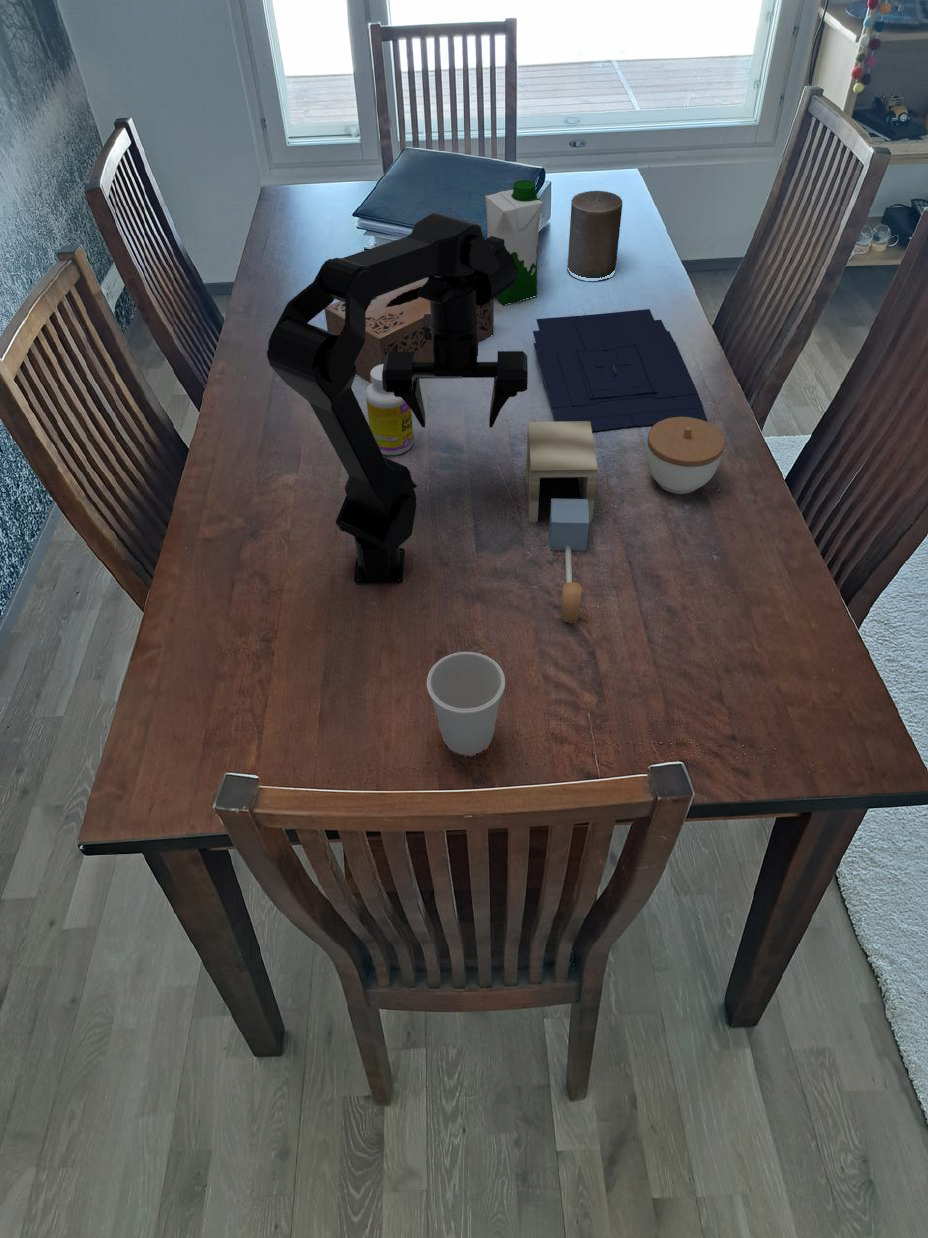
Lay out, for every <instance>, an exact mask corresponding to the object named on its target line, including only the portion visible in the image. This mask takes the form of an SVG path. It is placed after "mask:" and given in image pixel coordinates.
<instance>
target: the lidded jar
mask: <svg viewBox="0 0 928 1238" xmlns="http://www.w3.org/2000/svg"><path fill="white" fill-rule="evenodd" d="M725 444H726V442H725V437H724V435H723V434H722V431H720V429H718V428H717V427H716V426H714V425H713V424H711V422H708V421H703V420H700V419H696V418H691V417H673V418H668V419H664V420H662V421H660V422H658V423H656V424H655V425H652V427H651V428H650V429H649V432H648V435H647V449H646V461H647V462H646V463H647V467H648V471H649V473H650V475H651V477H652V478H653V479H654V480H655V482H657V484H658V485H659V487H660V488H661V489H662V490H665V492H668V493H672V494H676V495H687V494H690V493H693V492H695V491H696V490H698V489H699V488H701V487H703V486H705V485H706V484H708V482H709V481H710V480H711V479H712V478H713V476H714V475H715V473H716V471H717V470H718V467H719V465H720V462H721V457H722V454H723V452H724V449H725V446H726V445H725Z"/></svg>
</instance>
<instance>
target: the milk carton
mask: <svg viewBox="0 0 928 1238" xmlns="http://www.w3.org/2000/svg"><path fill="white" fill-rule="evenodd" d="M512 185H513V187H512V189H510V190H508V189H507V190H502V191H498V192H497V193H493V194H487V195H485V207H486V209H485V210H486V222H487V225H486V226H487V238H489V237H490V236H494V237H497V238H501V239H504V248H505V249H506V250H507V251H508V252H509V253H510V254H511V256H512V257H513V259H514V261H515V264H516V266H517V268H518V274H517V278H516V281H515V282H514V284H513V285H512V286H510V287H509V288H508V289H506V290H505V291H504V292H502V293H501V294H500V295H498V296H497V297H496V298H497V299H498V300H499V301H498V300H497V299H496V298H495V299H496V300H497V301H498V302H499V303H500V304H501V305H502V306H504V305H505V304H508V303H513V302H517V301H520V300H523V299H526V298H530V297H533V296H536V295H538V255H539V253H538V252H539V251H538V250H539V230H540V220H541V215H542V209H543V206H544V202H543V201H542V200H541V199H540V197H539V198H538V195H537V194H536V192H537V191H536V188H537V186H536V183H535V181H532V180H528V179H523V180H517V181H515V182H513V184H512ZM517 303H518V302H517ZM513 304H514V303H513ZM505 306H506V305H505Z"/></svg>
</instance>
